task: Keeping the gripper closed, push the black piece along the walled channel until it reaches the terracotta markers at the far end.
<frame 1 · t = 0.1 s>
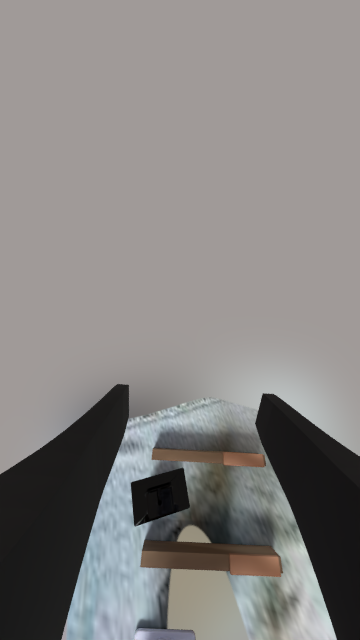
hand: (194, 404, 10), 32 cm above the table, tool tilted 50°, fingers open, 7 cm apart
black piece: (160, 493, 32), on the table
walled channel: (206, 498, 31), on the table
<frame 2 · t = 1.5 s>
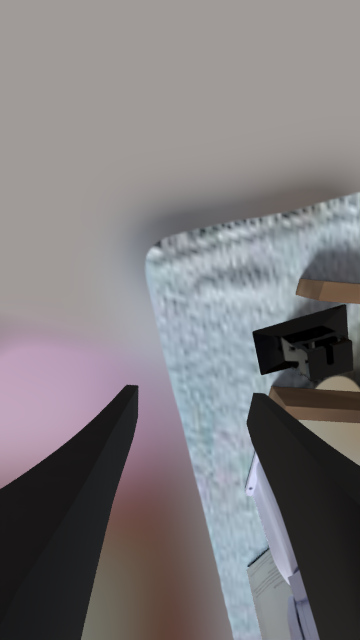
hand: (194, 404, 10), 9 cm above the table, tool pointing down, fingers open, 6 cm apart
black piece: (296, 339, 20), on the table
skincare box: (272, 557, 31), on the table
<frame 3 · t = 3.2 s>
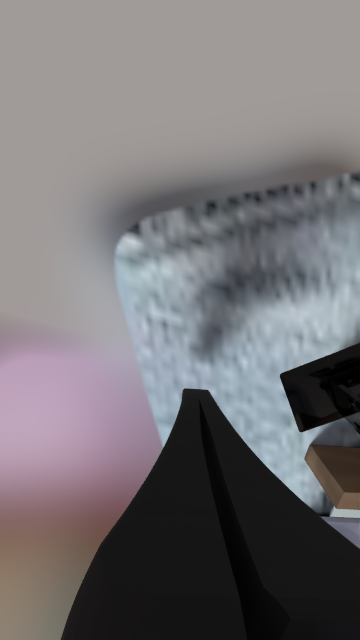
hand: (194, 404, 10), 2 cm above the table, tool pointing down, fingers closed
black piece: (349, 373, 13), on the table
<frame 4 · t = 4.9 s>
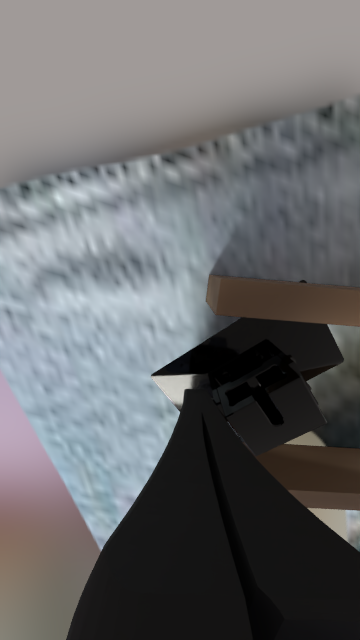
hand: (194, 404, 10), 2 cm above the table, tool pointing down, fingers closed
black piece: (241, 363, 13), on the table, touching gripper, walled channel
walled channel: (342, 388, 12), on the table
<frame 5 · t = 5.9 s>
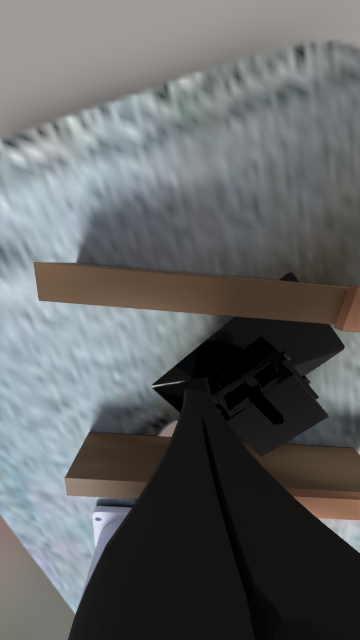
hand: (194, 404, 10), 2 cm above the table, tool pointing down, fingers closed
black piece: (241, 363, 12), on the table, touching gripper, walled channel
walled channel: (236, 381, 12), on the table
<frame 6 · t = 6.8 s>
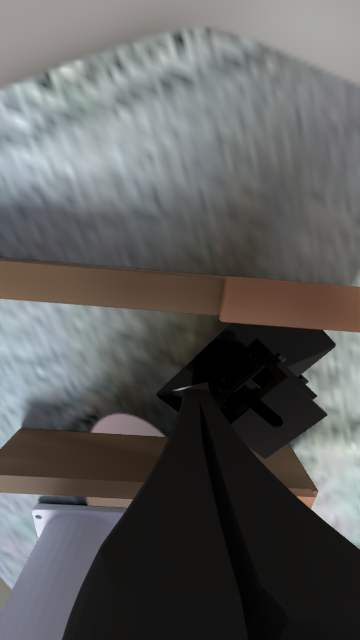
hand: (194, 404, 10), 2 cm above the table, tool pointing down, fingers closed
black piece: (240, 365, 13), on the table, touching gripper
walled channel: (161, 376, 12), on the table
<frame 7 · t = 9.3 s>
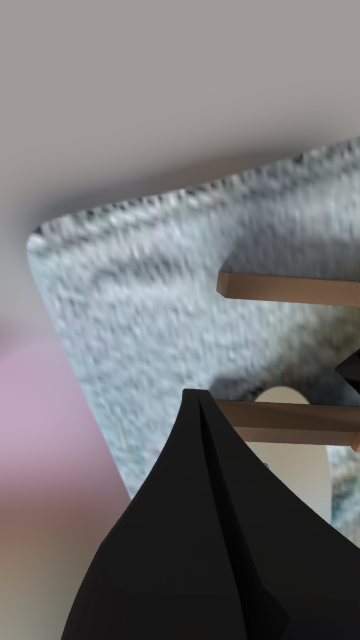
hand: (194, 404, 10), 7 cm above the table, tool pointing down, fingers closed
walled channel: (320, 356, 16), on the table
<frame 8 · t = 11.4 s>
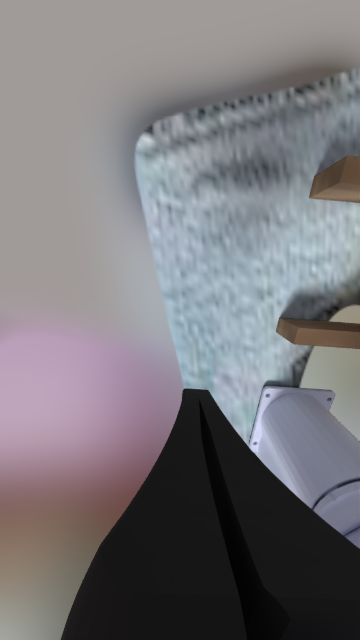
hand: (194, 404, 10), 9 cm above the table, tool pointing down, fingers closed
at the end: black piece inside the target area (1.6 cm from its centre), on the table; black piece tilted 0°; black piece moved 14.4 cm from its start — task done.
